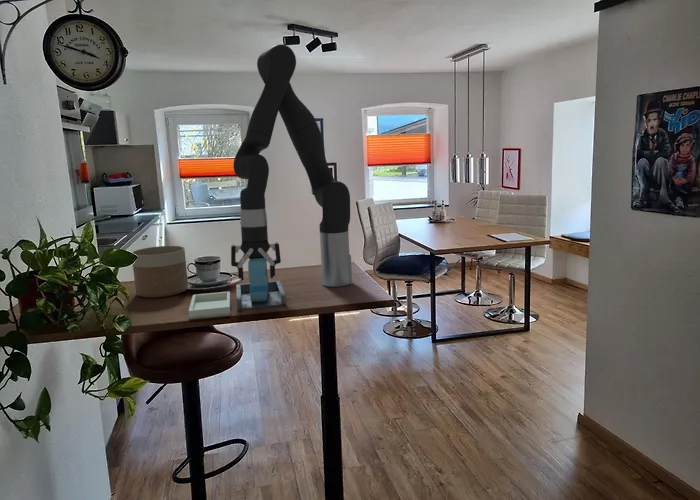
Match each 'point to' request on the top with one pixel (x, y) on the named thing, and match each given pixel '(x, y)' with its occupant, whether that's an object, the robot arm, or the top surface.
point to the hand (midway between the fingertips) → (257, 278)
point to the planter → (160, 271)
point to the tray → (210, 305)
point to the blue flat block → (258, 279)
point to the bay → (274, 299)
